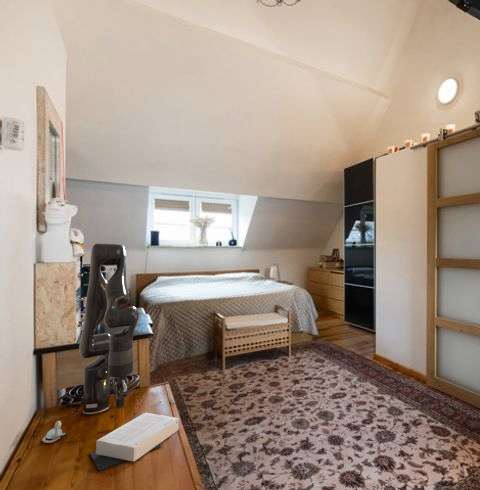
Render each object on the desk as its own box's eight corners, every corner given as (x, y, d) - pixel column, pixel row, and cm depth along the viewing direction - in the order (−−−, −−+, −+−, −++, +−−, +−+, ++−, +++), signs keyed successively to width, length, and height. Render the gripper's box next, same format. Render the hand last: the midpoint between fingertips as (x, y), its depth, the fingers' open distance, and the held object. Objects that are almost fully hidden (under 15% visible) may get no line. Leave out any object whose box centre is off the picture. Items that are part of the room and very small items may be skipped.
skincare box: (95, 456, 121) (133, 462, 118) (95, 440, 121) (133, 446, 118) (145, 425, 142) (179, 430, 138) (145, 411, 142) (179, 416, 138)
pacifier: (46, 446, 126) (67, 438, 131) (45, 429, 126) (66, 422, 131) (39, 439, 130) (60, 432, 135) (39, 423, 130) (59, 416, 135)
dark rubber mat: (89, 454, 122) (89, 453, 122) (147, 433, 136) (147, 432, 136) (99, 471, 114) (99, 470, 114) (160, 447, 127) (160, 446, 127)
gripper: (138, 363, 128) (137, 409, 128) (127, 354, 137) (126, 398, 137) (113, 368, 122) (112, 417, 123) (103, 359, 131) (103, 405, 131)
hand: (120, 407), depth 130 cm, fingers closed
